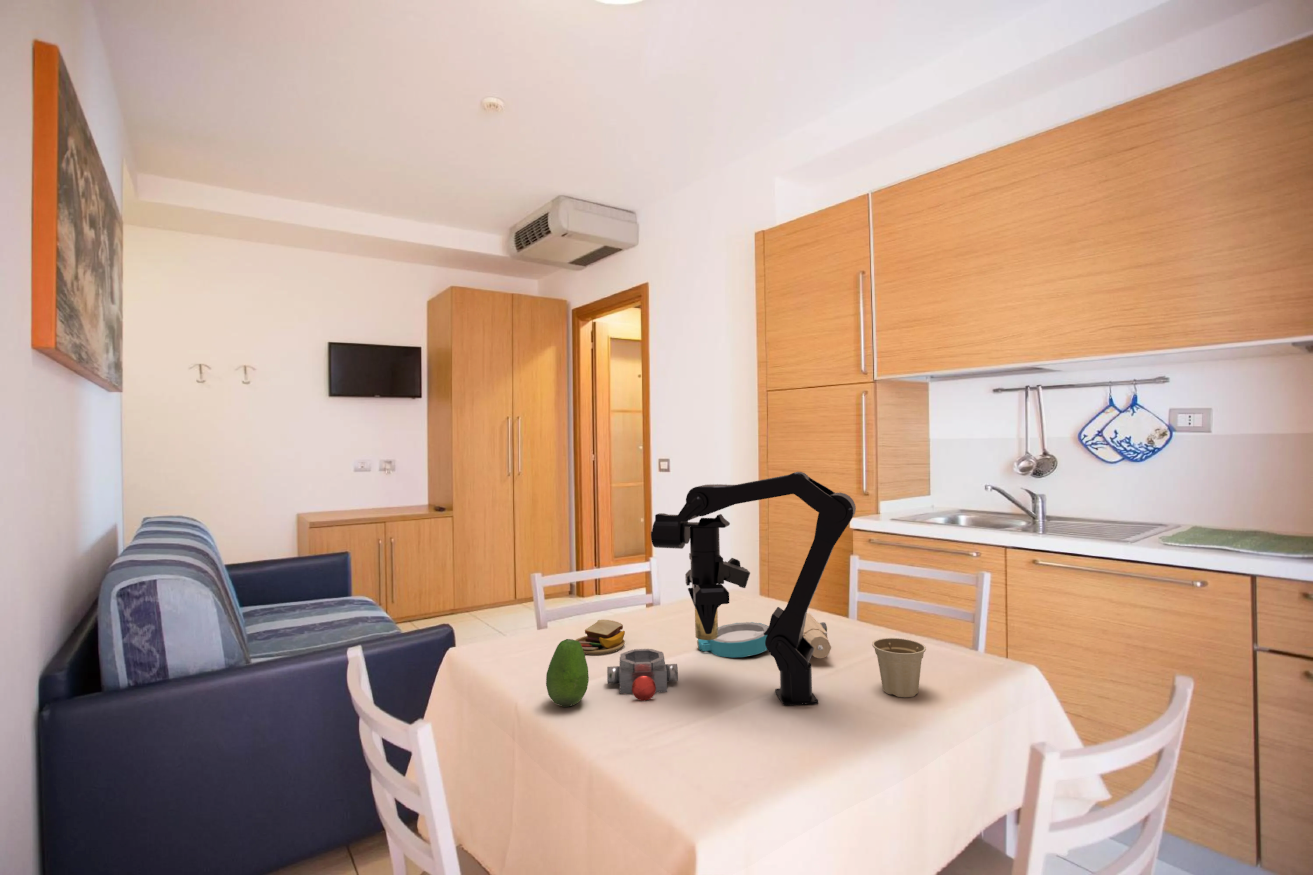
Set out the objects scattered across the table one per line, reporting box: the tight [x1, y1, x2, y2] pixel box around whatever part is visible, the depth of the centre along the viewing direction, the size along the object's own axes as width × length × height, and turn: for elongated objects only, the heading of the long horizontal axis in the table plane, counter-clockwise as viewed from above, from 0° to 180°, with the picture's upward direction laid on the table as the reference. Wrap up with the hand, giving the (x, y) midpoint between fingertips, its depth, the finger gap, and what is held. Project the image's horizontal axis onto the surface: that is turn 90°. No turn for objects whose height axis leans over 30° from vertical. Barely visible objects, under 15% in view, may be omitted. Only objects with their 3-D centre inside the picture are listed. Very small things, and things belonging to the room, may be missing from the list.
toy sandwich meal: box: [575, 619, 626, 656], centre depth 146 cm, size 12×14×5 cm
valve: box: [606, 648, 679, 702], centre depth 121 cm, size 13×14×6 cm
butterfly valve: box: [696, 612, 832, 659], centre depth 142 cm, size 27×7×30 cm
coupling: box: [694, 606, 719, 640], centre depth 120 cm, size 4×4×6 cm
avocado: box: [545, 638, 590, 707], centre depth 114 cm, size 8×8×12 cm
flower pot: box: [871, 637, 927, 698], centre depth 116 cm, size 9×9×9 cm
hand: (706, 629), depth 120 cm, fingers closed on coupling, 4 cm apart
